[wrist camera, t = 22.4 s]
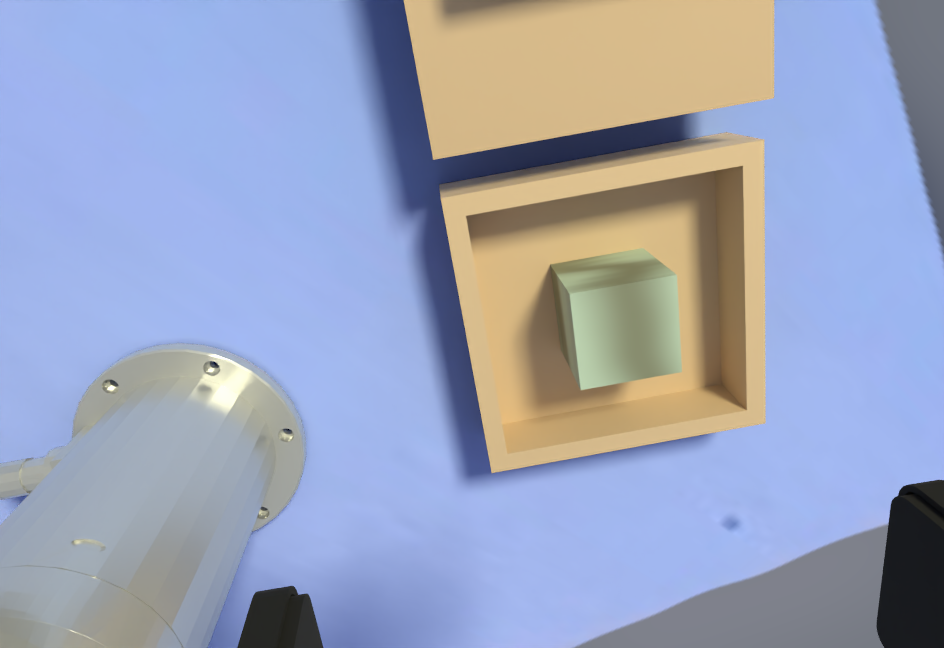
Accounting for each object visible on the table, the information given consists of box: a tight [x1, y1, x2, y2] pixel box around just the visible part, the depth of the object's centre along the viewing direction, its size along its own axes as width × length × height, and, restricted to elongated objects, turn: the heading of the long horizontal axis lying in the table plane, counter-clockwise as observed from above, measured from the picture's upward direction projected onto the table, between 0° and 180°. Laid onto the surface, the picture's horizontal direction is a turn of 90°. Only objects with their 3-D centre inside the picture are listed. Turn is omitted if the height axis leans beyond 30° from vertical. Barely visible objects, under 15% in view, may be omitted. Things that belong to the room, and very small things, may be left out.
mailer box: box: [439, 132, 765, 473], centre depth 34 cm, size 15×15×4 cm
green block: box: [550, 248, 682, 390], centre depth 33 cm, size 5×5×5 cm
